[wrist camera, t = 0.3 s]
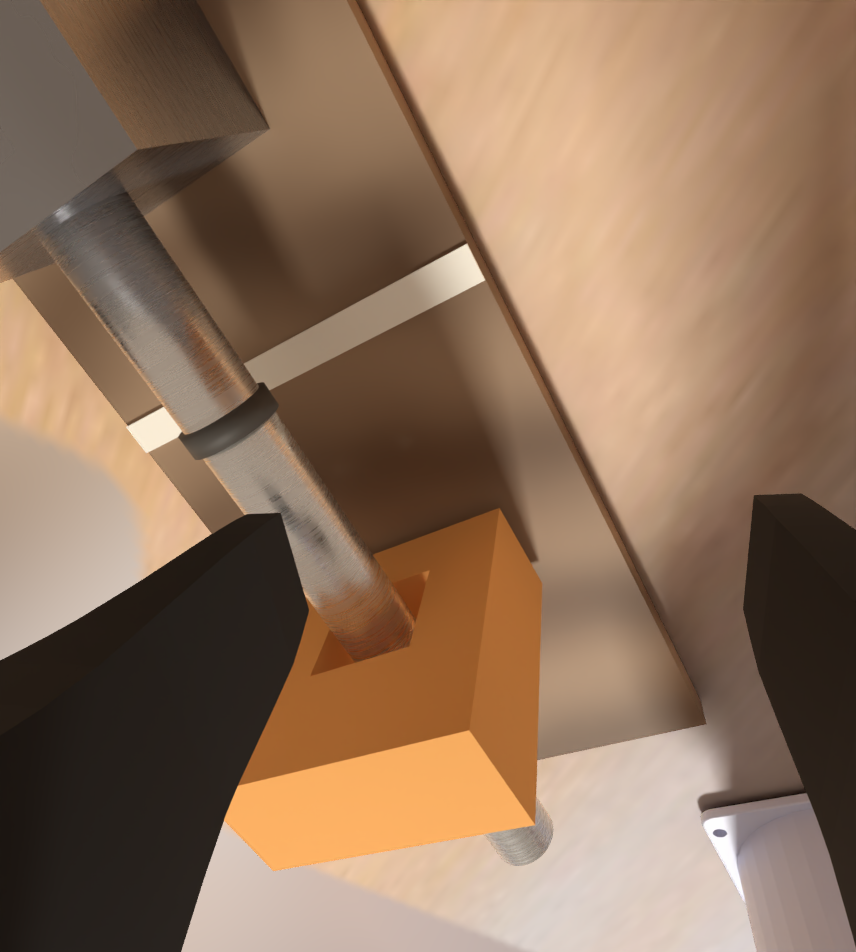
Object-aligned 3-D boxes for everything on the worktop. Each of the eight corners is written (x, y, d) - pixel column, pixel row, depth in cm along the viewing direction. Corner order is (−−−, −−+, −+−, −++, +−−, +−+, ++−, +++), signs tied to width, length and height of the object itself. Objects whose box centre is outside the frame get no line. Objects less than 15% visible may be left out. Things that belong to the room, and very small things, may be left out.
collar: (542, 583, 21) (535, 825, 14) (355, 642, 24) (273, 870, 17) (499, 507, 20) (469, 730, 13) (308, 578, 22) (199, 795, 16)
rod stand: (701, 701, 24) (747, 903, 18) (414, 766, 29) (376, 946, 23) (303, -108, 15) (127, -240, 9) (-36, 176, 19) (-307, 218, 13)
